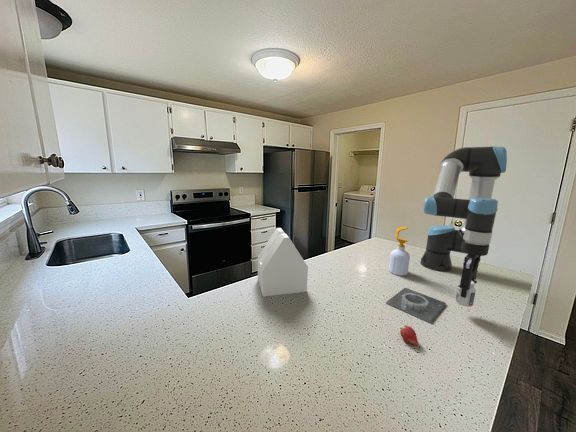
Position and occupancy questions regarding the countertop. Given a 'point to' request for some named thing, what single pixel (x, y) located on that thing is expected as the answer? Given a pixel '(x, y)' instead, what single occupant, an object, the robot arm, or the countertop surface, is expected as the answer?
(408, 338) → the fruit
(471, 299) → the pill bottle
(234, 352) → the countertop surface
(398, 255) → the soap bottle
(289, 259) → the white toy house
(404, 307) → the duct plate
